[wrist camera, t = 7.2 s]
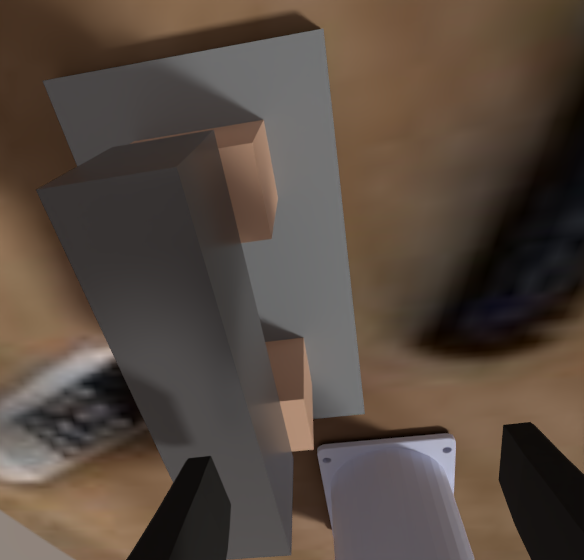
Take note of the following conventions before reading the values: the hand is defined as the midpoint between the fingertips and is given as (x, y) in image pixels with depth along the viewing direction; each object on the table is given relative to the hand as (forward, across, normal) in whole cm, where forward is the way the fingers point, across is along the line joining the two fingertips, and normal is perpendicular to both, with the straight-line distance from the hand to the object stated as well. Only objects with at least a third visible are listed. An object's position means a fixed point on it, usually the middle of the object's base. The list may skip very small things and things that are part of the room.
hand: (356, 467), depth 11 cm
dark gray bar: (+5, +4, -1) cm, 7 cm away
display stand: (+10, +4, -1) cm, 11 cm away
